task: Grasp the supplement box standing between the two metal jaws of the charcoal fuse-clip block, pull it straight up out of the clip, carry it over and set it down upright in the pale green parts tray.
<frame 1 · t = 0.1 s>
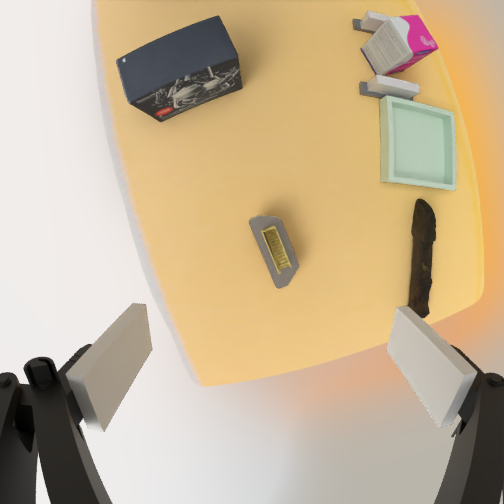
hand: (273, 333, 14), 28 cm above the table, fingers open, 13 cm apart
hand tool: (412, 257, 42), on the table
small box: (194, 87, 37), on the table
parts tray: (415, 145, 38), on the table
fuse clip: (382, 60, 34), on the table
supplement box: (382, 60, 35), on the table
platform: (274, 242, 42), on the table
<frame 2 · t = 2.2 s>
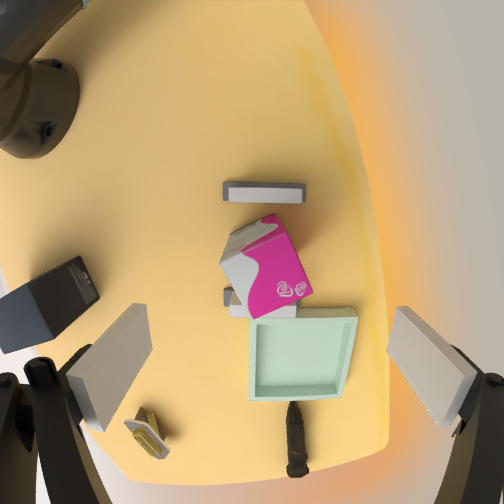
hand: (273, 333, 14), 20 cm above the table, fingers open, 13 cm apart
hand tool: (291, 434, 41), on the table
small box: (62, 290, 36), on the table
parts tray: (298, 351, 37), on the table
fuse clip: (263, 246, 33), on the table
supplement box: (263, 245, 34), on the table
platform: (157, 420, 41), on the table
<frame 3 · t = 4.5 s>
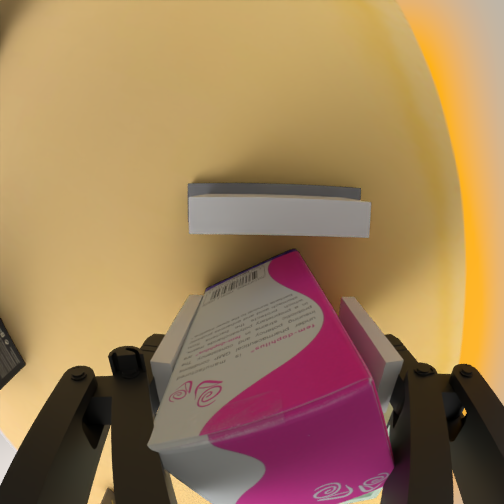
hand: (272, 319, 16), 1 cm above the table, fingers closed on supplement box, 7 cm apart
parts tray: (321, 452, 20), on the table
fuse clip: (271, 310, 17), on the table
supplement box: (271, 309, 17), on the table, touching gripper
platform: (131, 500, 25), on the table
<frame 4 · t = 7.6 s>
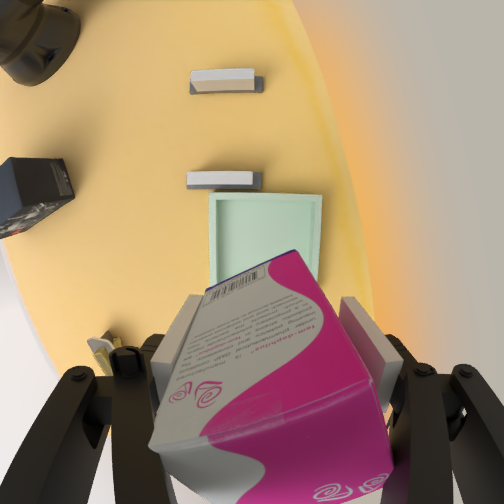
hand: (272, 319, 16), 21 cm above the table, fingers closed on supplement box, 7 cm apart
small box: (43, 197, 36), on the table
parts tray: (264, 244, 36), on the table
fuse clip: (225, 131, 33), on the table
supplement box: (271, 309, 17), point 20 cm above the table, touching gripper
platform: (124, 348, 41), on the table
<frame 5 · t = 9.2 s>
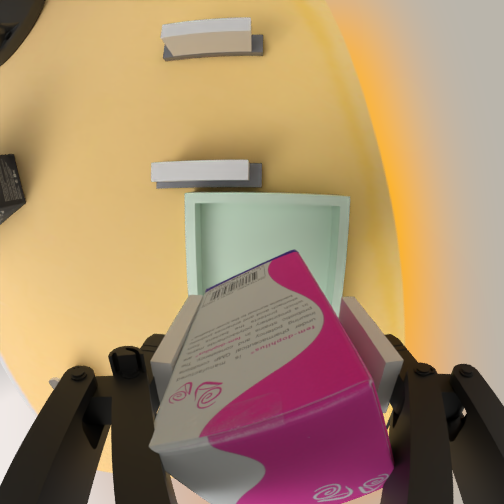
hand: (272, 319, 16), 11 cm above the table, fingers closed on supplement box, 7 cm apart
parts tray: (265, 264, 26), on the table
fuse clip: (210, 107, 23), on the table
supplement box: (271, 310, 17), point 9 cm above the table, touching gripper
when the fingers open (4 cm above the table, at t = 10.7 s): supplement box drops 2 cm, resting on parts tray.
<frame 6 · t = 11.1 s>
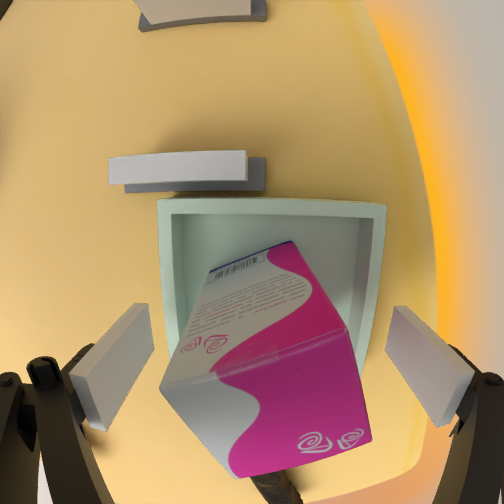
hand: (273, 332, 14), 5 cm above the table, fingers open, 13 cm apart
hand tool: (260, 455, 24), on the table
parts tray: (269, 294, 19), on the table
fuse clip: (196, 84, 16), on the table
supplement box: (266, 294, 19), resting on parts tray
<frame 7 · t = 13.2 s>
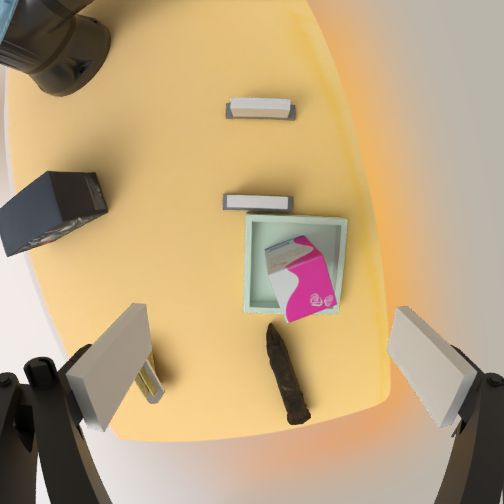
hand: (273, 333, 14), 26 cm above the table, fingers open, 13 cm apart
hand tool: (282, 372, 44), on the table
small box: (73, 209, 39), on the table
parts tray: (292, 261, 39), on the table
fuse clip: (259, 156, 37), on the table
supplement box: (291, 261, 39), resting on parts tray
platform: (155, 362, 44), on the table
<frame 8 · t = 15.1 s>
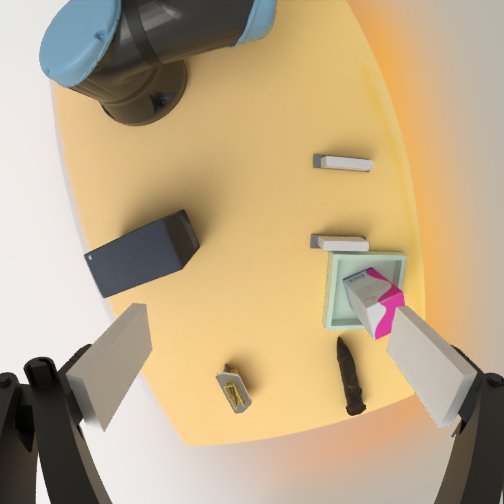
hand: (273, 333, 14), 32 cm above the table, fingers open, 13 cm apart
hand tool: (344, 373, 51), on the table
small box: (158, 243, 46), on the table
parts tray: (361, 287, 47), on the table
fuse clip: (340, 202, 44), on the table
supplement box: (361, 287, 46), resting on parts tray
platform: (237, 376, 52), on the table
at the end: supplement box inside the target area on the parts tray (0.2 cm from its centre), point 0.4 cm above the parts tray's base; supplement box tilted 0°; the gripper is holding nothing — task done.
